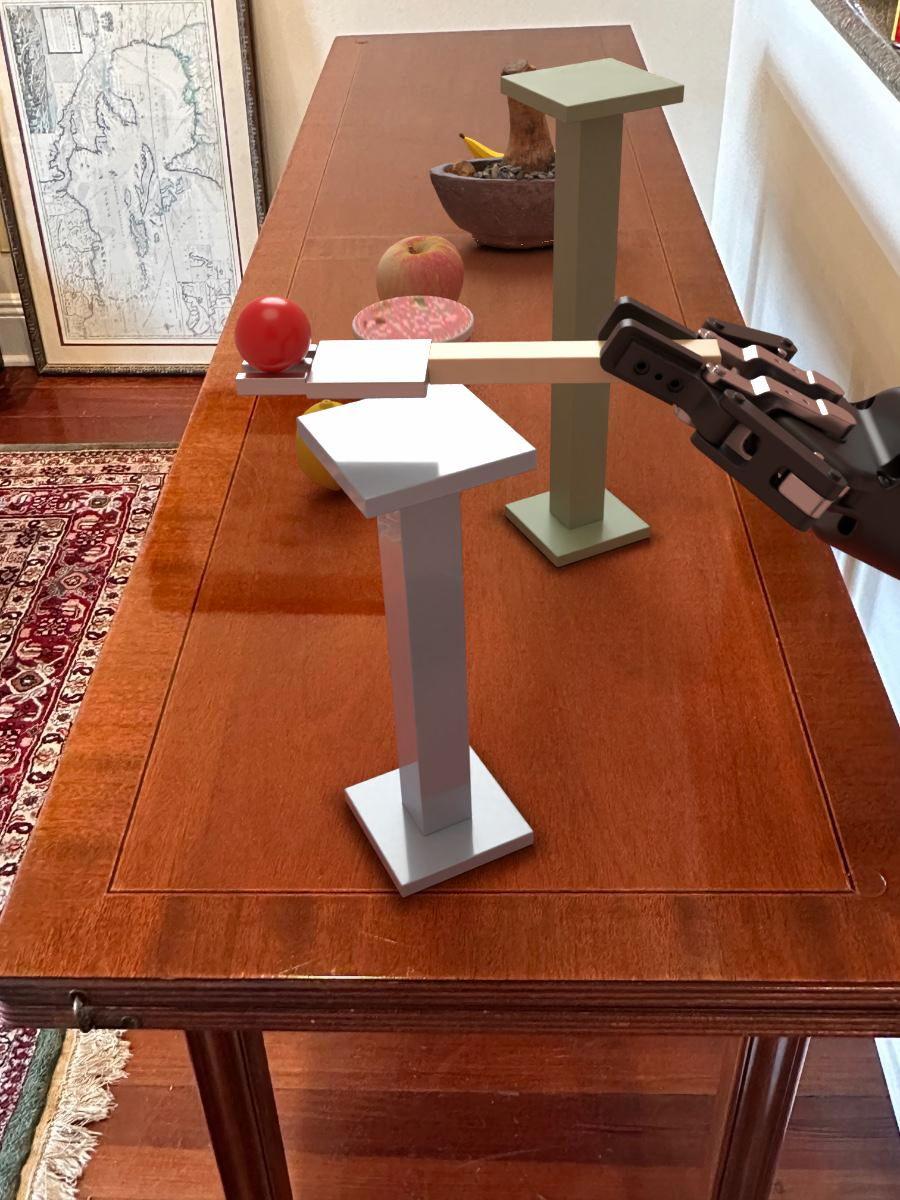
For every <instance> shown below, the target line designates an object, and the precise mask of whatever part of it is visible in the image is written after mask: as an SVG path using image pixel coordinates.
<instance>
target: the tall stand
mask: <svg viewBox="0 0 900 1200" xmlns="http://www.w3.org/2000/svg"><path fill="white" fill-rule="evenodd" d="M499 78H500V79H499V83H500V85H499V86H500V89H499V90H500V94H502V95H504V96H506V97H507V96H508V97H510V98H512V99H515V100H517V101H519V102H521V103H523V104H525V105H527V106H530V107H532V108H534V109H536V110H538V111H540V112H542V113H545V115H547V116H549V117H551V118H553V119H554V120H555V132H554V133H555V138H554V139H555V141H554V149H555V193H554V245H553V253H552V254H553V258H552V259H553V260H552V261H553V262H552V263H553V264H552V266H553V267H552V314H551V315H552V317H551V318H552V319H551V323H552V325H551V326H552V327H551V341H598V327H599V325H600V324H601V322H602V321H603V319H604V318H605V316H606V315H607V313H608V311H609V310H610V308H611V307H612V305H613V304H614V302H615V295H616V278H617V277H616V275H617V257H618V256H617V254H618V253H617V251H618V236H619V235H618V233H619V213H620V195H621V193H620V192H621V176H622V175H621V173H622V172H621V171H622V154H623V153H622V151H623V133H624V114H630V113H633V112H639V111H644V110H650V109H655V108H660V107H665V106H666V107H667V106H670V105H676V104H682V103H683V102H684V100H685V99H684V97H685V85H684V84H682V83H680V82H677V81H674V80H672V79H668V78H667V77H663V76H661V75H658V74H656V73H653V72H650V71H648V70H644V69H642V68H639V67H636V66H634V65H631V64H629V63H625V62H623V61H620V60H618V59H615V58H612V57H607V58H602V59H596V60H595V59H594V60H590V61H589V60H588V61H583V62H577V63H571V64H566V65H560V66H553V67H548V68H542V69H536V71H530V72H524V73H518V74H512V75H506V76H501V75H500V77H499ZM550 391H551V392H550V437H549V438H550V440H549V441H550V442H549V444H550V445H549V450H550V451H549V490H548V491H546V492H542V493H539V494H535V495H533V496H529V497H525V498H522V499H520V500H516V501H513V502H510V503H506V504H504V516H505V517H506V518H507V519H508V520H509V521H510V522H511V523H512V524H513V525H514V526H515V527H516V528H517V529H518V530H519V531H520V532H521V533H522V534H523V535H524V536H525V537H526V538H527V539H528V540H529V541H530V542H531V543H532V544H533V545H534V546H535V547H536V548H537V549H538V550H539V551H540V552H541V553H542V554H543V555H545V557H546V558H547V559H548V560H549V561H550V562H551V563H552V564H553V565H554V566H555V567H556V568H561V567H563V566H566V565H569V564H572V563H576V562H578V561H582V560H585V559H588V558H590V557H593V556H597V555H600V554H602V553H606V552H609V551H612V550H615V549H619V548H621V547H624V546H627V545H630V544H632V543H636V542H639V541H642V540H645V539H648V538H650V532H651V526H650V525H649V524H648V523H647V522H645V521H644V520H643V519H642V518H641V517H639V515H637V514H636V513H635V512H634V511H633V510H632V509H630V508H629V506H627V505H626V504H625V503H623V502H622V501H621V500H620V499H619V498H618V497H616V496H615V495H614V493H612V492H610V491H609V490H608V488H606V480H607V479H606V478H607V476H606V475H607V458H608V457H607V455H608V439H609V437H608V436H609V419H610V418H609V416H610V415H609V414H610V397H611V396H610V395H611V383H554V384H550Z"/></svg>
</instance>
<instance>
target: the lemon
mask: <svg viewBox="0 0 900 1200" xmlns="http://www.w3.org/2000/svg"><path fill="white" fill-rule="evenodd" d="M341 405H344V404H343V403H341V402H337V401H332V400H331V399H322V401H320V402H318V403H317V402H316V403H315V404H313V405H312V406H310V407H309V408H308V409H306V410H305V411H304V413H303V414H302V415H301V416H303V415H307V414H311V413H314V412H318V411H322V410H326V409H330V408H334V407H337V406H341ZM294 445H295V446H294V447H295V448H294V449H295V454H296V458H297V462H298V465H299V467H300V469H301V471H302V474H304V475H305V477H306V478H307V479H308V480H309V481H311V482H312V483H314V485H316V486H319V487H322V488H325V489H330V490H331V491H334V492H337V491H339V490H341V489H342V488H341V487H340V485H339V484H338V483H337V482H336V481H335V479H334V478H333V477H332V476H331V475H330V473H329V472H328V471H327V470H326V468H325V467H324V466H323V465H322V464H321V462H320V461H319V460H318V459H317V457H316V456H315V455H314V454H313V453H312V451H311V450H310V449H309V448H308V446H307V445H306V444H305V443H304V442H303V440H302V439H301V438H300V437H299V435H298V428H297V427H296V432H295V440H294Z"/></svg>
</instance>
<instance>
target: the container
mask: <svg viewBox="0 0 900 1200" xmlns="http://www.w3.org/2000/svg"><path fill="white" fill-rule="evenodd" d="M474 328H475V320H474V315H473V312H472V311H471V310H470V309H469V308H468V307H466V306H465V304H462V303H460V302H459V301H457V302H456V301H453V300H450V299H445V298H441V297H433V296H404V297H397V298H392V299H387V300H383V301H380V300H379V301H377V302H374V303H373V304H370V305H368V306H366V307H364V308H363V309H361V310H360V311H359V312H358V313H357V314H355V316H354V318H353V320H352V325H351V329H352V336H353V338H354V341H359V340H432V341H433V343H467V342H473V341H472V334H473V332H474ZM463 385H464V386H465V387H466V388H467V389H469V386H470V384H463Z"/></svg>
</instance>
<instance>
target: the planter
mask: <svg viewBox="0 0 900 1200" xmlns="http://www.w3.org/2000/svg"><path fill="white" fill-rule="evenodd" d="M536 70H537V68H536V66H535V65H534V64H531V63H530V62H529V61H528V59H526V58H516V59H513V60H512V61H510V62H508V63H506V64H505V66H504V67H503V68H502V70H501V71H500V77H501V76H506V75H512V74H518V73H524V72H530V71H536ZM506 98H507V105H508V113H509V135H508V136H509V137H508V143H507V146H506V150H505V152H504V153H503V154H504V156H502V157H494V158H484V159H476V158H472V159H466V160H462V159H461V160H459V161H456V162H448V163H443V164H439V165H436V166H433V167H432V168H430V169H429V178H430V181H431V185H432V186H433V189H434V192H435V193H436V195H437V198H438V200H439V202H440V204H441V206H442V208H443V209H444V211H445V212H446V215H447V216H448V217H449V219H450V220H451V221H452V222H453V223H454V225H456V226H457V227H458V228H459V229H461V230H463V231H465V232H467V233H470V234H471V237H472V239H473V238H475V239H473V240H474V242H475V243H476V244H477V245H481V246H487V247H492V248H499V249H500V248H501V249H507V250H509V249H512V250H514V249H517V250H518V249H519V250H520V249H532V248H542V247H550V246H554V241H550V240H554V193H555V151H554V149H555V147H554V145H553V141H552V137H551V134H550V133H551V132H550V129H549V124H548V121H547V117H546V114H545V113H542V112H540V111H538V110H536V109H534V108H532V107H530V106H527V105H525V104H523V103H521V102H519V101H517V100H515V99H512V98H510V97H508V96H506ZM477 240H478V241H477ZM544 241H549V242H544ZM485 242H486V243H485ZM542 242H543V243H542ZM521 244H523V245H521Z"/></svg>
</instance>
